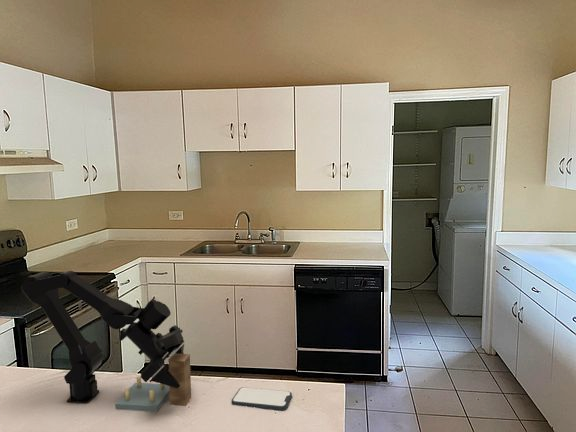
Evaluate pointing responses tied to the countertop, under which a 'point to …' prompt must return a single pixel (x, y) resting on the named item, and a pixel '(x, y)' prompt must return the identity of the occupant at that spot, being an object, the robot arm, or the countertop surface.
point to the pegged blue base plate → (143, 396)
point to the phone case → (262, 398)
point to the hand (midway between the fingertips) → (184, 378)
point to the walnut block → (180, 379)
